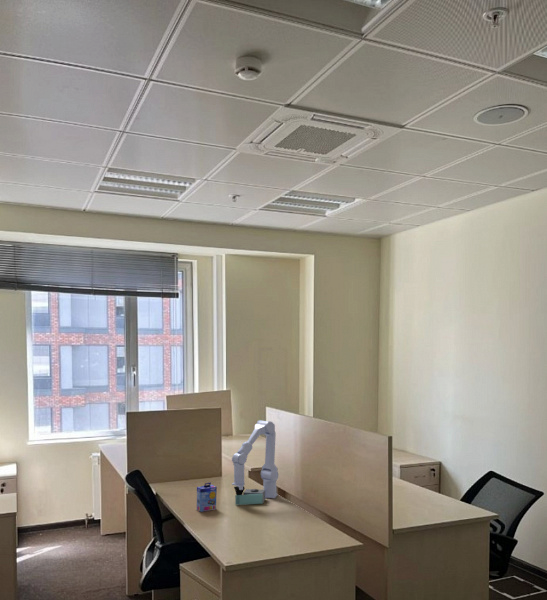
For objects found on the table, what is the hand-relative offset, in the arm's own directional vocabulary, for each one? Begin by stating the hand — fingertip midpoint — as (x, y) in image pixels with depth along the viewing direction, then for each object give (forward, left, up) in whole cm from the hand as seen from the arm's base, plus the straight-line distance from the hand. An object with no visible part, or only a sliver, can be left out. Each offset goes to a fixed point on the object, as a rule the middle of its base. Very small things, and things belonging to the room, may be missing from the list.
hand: (239, 500), depth 327 cm
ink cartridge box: (+13, -15, -2) cm, 20 cm away
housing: (-8, +7, -2) cm, 10 cm away
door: (0, +6, -2) cm, 6 cm away
